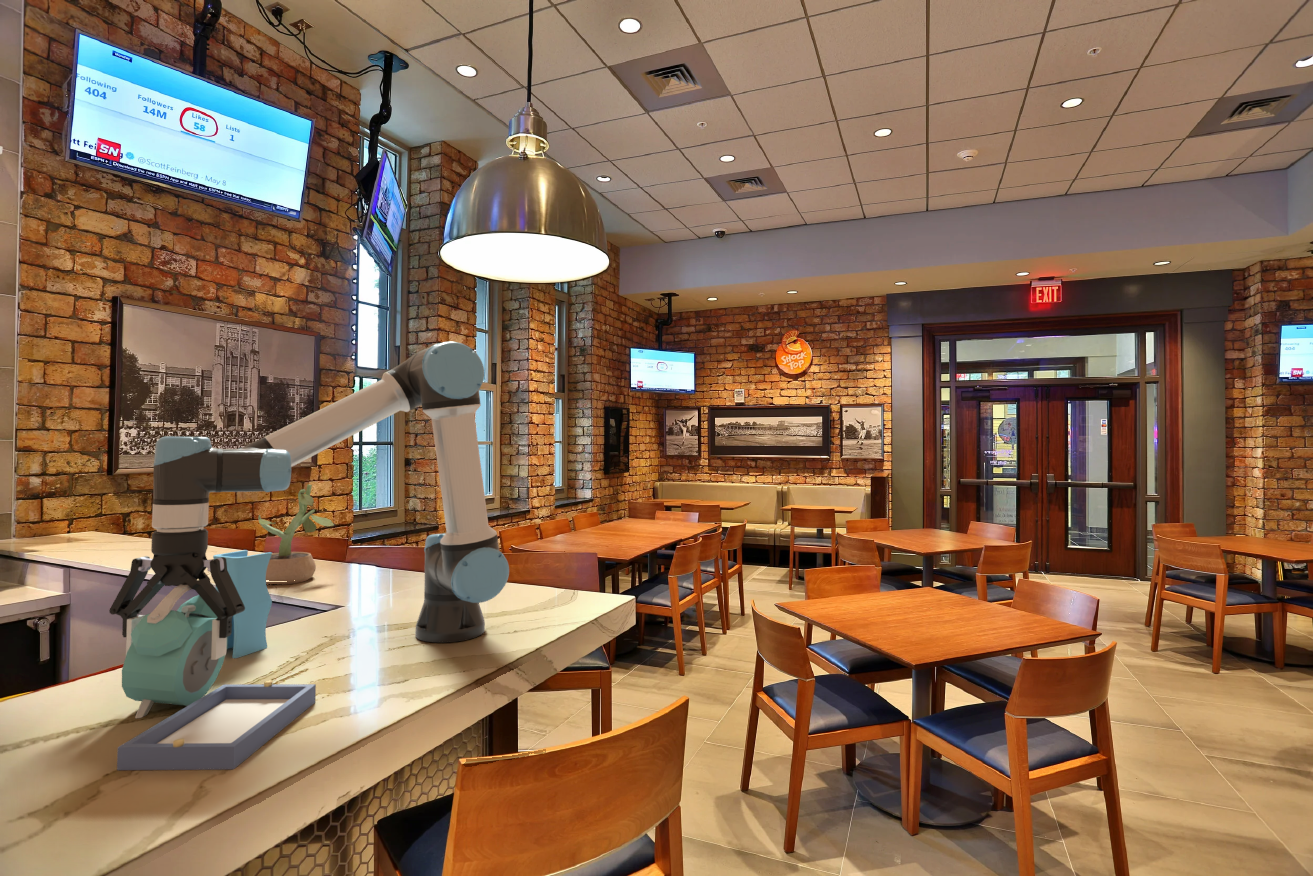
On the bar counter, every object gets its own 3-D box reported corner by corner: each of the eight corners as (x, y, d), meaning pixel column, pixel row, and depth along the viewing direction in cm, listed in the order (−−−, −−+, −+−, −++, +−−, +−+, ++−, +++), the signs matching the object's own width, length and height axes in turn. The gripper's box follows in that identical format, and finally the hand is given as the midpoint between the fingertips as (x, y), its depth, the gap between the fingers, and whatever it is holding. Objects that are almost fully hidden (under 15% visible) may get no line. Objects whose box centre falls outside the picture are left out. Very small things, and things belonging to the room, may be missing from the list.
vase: (270, 646, 135) (272, 552, 135) (235, 658, 127) (237, 558, 128) (243, 642, 138) (245, 549, 138) (207, 653, 130) (209, 555, 130)
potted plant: (237, 586, 190) (239, 485, 190) (274, 574, 208) (276, 482, 208) (311, 587, 189) (313, 486, 190) (343, 575, 207) (344, 483, 208)
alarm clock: (181, 683, 114) (183, 571, 114) (237, 682, 115) (239, 571, 115) (105, 726, 97) (108, 594, 97) (172, 725, 98) (175, 594, 98)
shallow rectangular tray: (315, 702, 107) (316, 680, 107) (233, 769, 85) (233, 742, 85) (223, 702, 106) (224, 680, 106) (116, 770, 84) (117, 743, 84)
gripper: (270, 527, 110) (266, 650, 110) (121, 525, 109) (117, 649, 109) (243, 532, 103) (240, 665, 102) (83, 530, 102) (79, 664, 101)
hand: (176, 657), depth 106 cm, fingers open, 13 cm apart
